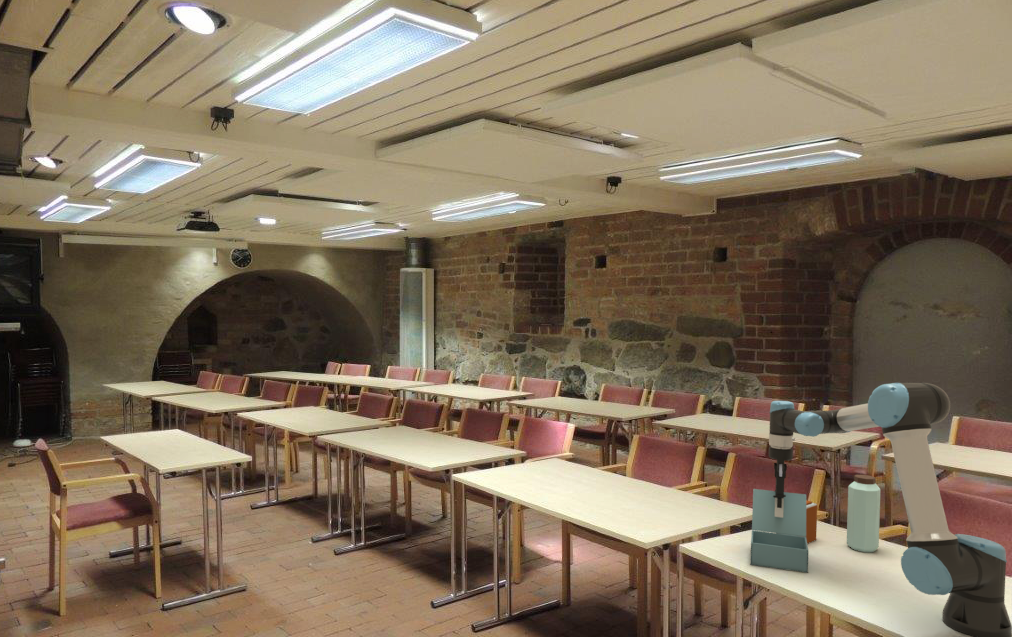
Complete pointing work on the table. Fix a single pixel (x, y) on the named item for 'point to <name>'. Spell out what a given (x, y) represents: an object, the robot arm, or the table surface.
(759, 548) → the grey-green open box
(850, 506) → the water bottle
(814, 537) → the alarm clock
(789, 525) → the lid
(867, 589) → the table surface
